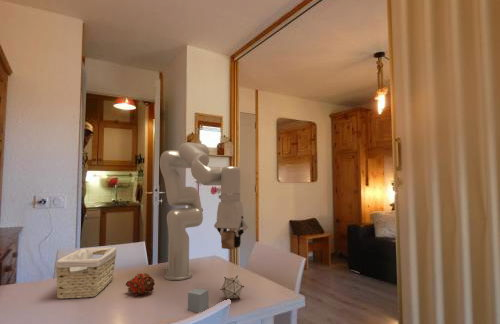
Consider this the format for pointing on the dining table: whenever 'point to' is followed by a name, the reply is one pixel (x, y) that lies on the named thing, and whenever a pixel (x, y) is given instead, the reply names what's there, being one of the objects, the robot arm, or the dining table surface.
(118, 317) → the dining table surface
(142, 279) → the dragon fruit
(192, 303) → the block
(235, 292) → the beige geometric ornament
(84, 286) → the storage basket
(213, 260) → the dining table surface
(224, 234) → the block
